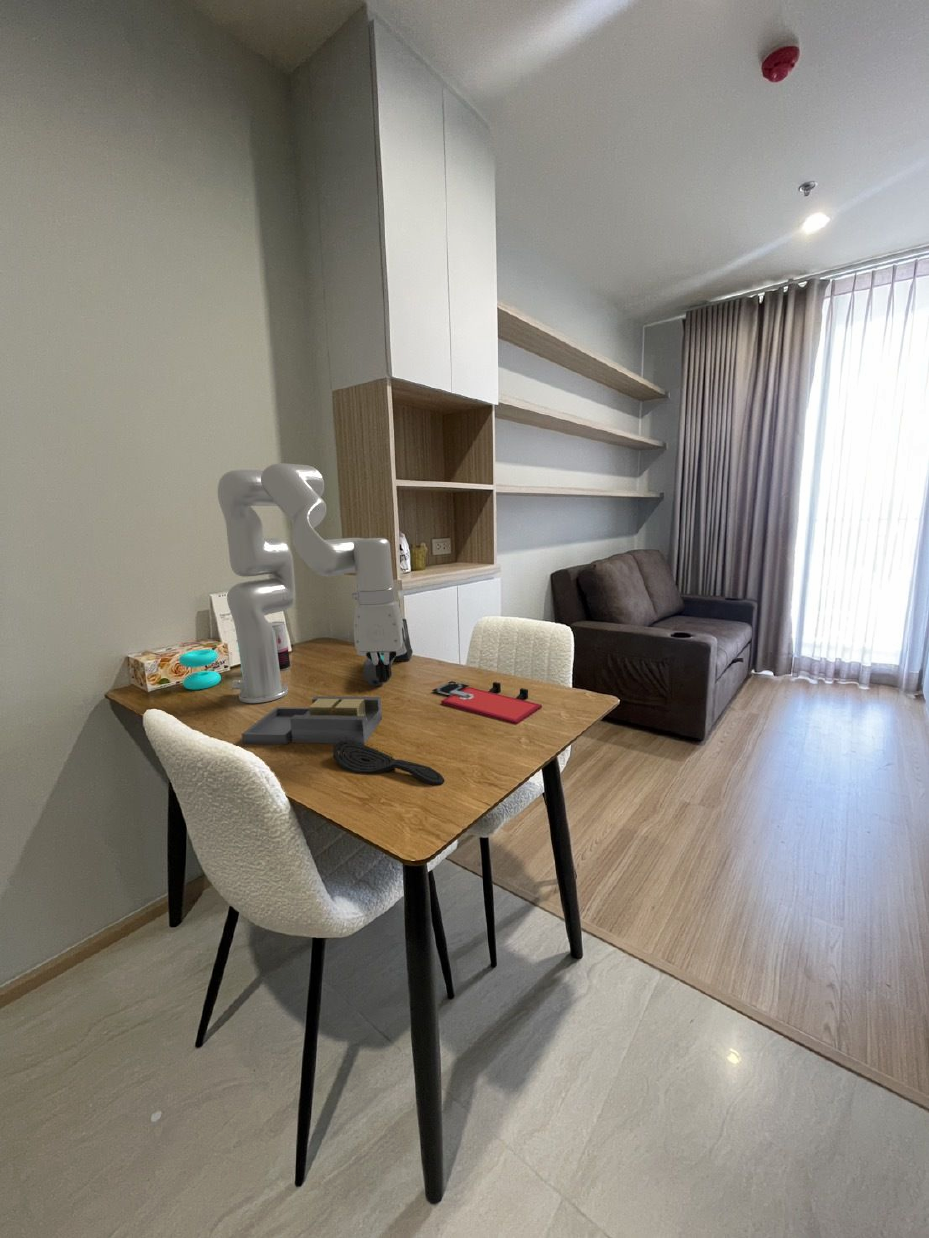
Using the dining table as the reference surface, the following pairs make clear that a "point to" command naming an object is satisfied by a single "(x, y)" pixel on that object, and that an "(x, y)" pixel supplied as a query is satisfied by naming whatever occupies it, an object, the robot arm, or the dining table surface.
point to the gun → (370, 668)
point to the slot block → (337, 724)
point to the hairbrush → (379, 762)
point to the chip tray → (273, 727)
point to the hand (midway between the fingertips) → (384, 680)
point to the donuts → (204, 677)
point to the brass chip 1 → (323, 707)
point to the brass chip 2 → (350, 707)
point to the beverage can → (281, 644)
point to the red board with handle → (488, 702)
